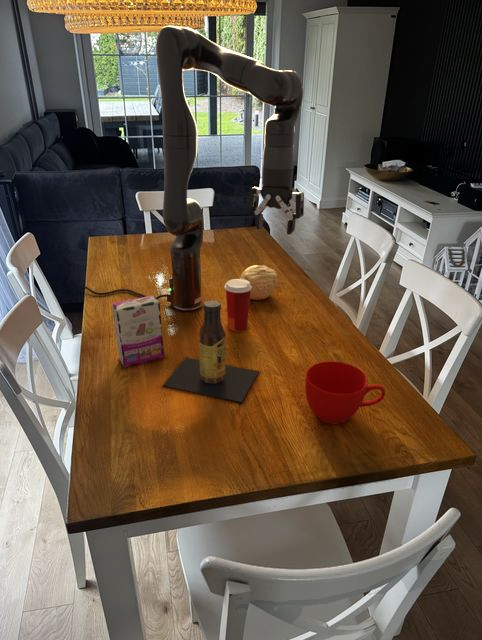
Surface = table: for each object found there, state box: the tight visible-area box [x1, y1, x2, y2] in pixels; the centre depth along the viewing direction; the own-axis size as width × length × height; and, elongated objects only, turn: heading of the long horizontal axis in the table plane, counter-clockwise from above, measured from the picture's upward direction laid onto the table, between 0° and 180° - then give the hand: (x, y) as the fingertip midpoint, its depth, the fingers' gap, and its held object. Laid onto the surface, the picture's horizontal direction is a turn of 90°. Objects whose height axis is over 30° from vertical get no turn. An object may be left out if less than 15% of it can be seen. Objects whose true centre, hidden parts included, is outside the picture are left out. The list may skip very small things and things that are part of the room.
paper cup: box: [223, 278, 252, 332], centre depth 142 cm, size 8×8×14 cm
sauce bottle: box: [198, 300, 227, 384], centre depth 115 cm, size 7×6×20 cm
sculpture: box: [239, 264, 278, 301], centre depth 162 cm, size 12×12×11 cm
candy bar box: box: [111, 294, 165, 368], centre depth 125 cm, size 11×5×16 cm, turn 117°
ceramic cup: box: [304, 360, 386, 425], centre depth 106 cm, size 13×17×10 cm
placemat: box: [162, 357, 260, 404], centre depth 120 cm, size 20×14×1 cm
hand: (274, 231), depth 126 cm, fingers open, 8 cm apart
